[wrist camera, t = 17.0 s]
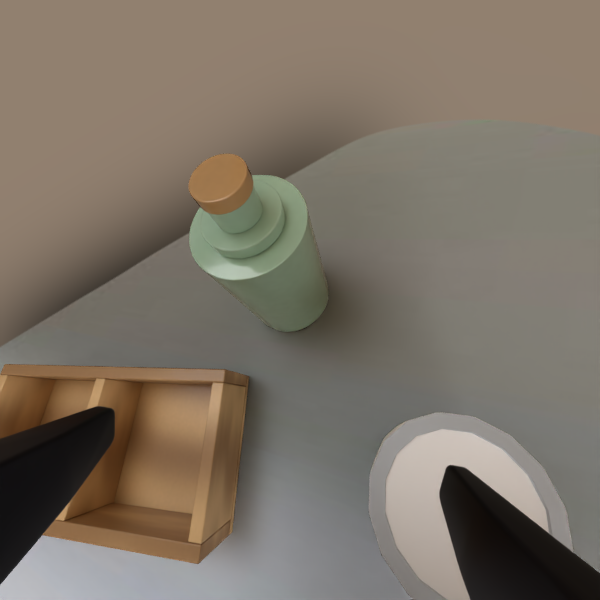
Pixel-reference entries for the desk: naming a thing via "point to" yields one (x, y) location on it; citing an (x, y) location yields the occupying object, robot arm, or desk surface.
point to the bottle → (257, 242)
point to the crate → (143, 452)
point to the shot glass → (426, 503)
